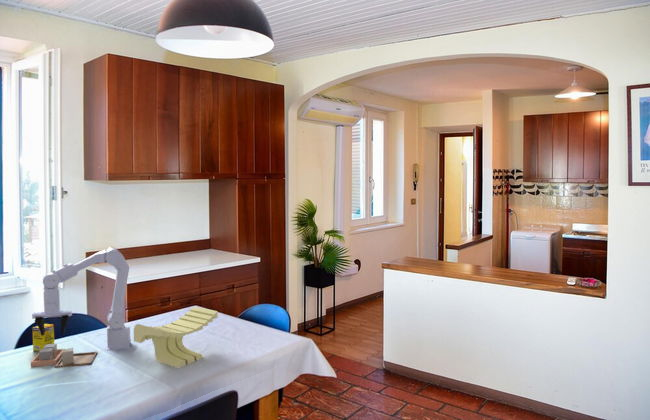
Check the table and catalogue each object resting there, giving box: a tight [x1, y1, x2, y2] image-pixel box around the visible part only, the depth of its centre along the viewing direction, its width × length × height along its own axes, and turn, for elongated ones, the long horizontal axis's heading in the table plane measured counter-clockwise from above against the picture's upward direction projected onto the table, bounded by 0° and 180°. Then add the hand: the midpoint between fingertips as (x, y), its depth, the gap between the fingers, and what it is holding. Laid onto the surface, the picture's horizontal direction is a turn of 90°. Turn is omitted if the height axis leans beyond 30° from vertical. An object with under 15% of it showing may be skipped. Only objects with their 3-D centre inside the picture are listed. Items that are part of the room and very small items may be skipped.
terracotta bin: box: [30, 348, 63, 368], centre depth 202 cm, size 9×13×2 cm
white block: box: [61, 347, 74, 365], centre depth 199 cm, size 4×4×5 cm
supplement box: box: [31, 323, 55, 353], centre depth 214 cm, size 6×6×11 cm
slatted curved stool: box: [133, 306, 219, 369], centre depth 204 cm, size 30×16×18 cm, turn 146°
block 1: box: [38, 348, 53, 361], centre depth 199 cm, size 4×4×5 cm
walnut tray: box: [54, 351, 98, 369], centre depth 202 cm, size 13×13×1 cm
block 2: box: [43, 343, 58, 359], centre depth 204 cm, size 4×4×5 cm
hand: (53, 334), depth 206 cm, fingers open, 7 cm apart
